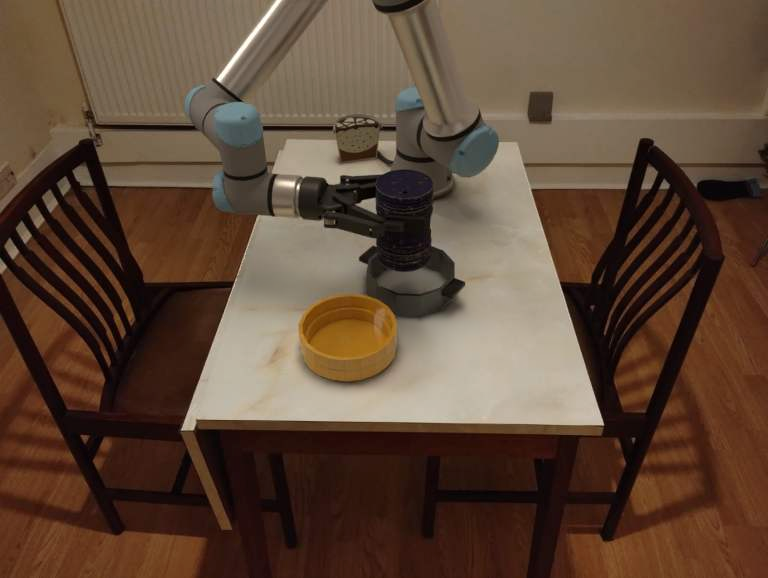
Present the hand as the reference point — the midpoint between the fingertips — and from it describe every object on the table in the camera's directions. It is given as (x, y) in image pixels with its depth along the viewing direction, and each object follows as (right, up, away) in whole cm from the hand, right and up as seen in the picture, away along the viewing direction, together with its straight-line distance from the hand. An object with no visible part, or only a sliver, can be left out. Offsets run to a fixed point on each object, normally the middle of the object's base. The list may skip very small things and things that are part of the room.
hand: (429, 208), depth 113 cm
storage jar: (-4, -8, +7) cm, 12 cm away
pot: (-3, -14, +15) cm, 20 cm away
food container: (-15, +20, +57) cm, 62 cm away
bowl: (-14, -24, +2) cm, 28 cm away
